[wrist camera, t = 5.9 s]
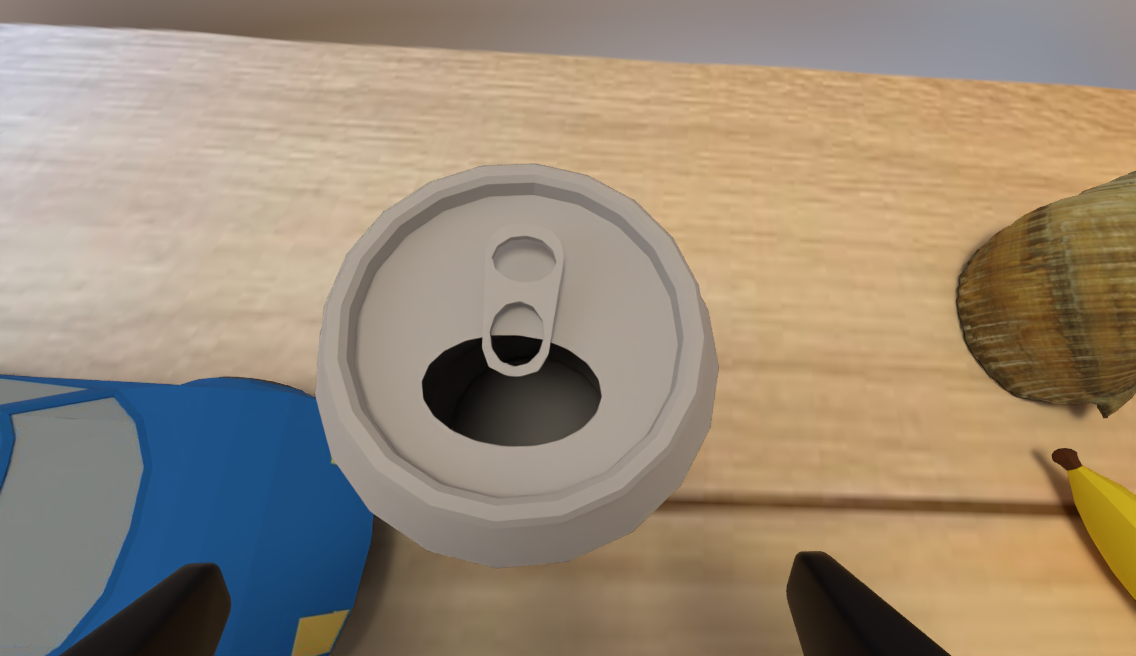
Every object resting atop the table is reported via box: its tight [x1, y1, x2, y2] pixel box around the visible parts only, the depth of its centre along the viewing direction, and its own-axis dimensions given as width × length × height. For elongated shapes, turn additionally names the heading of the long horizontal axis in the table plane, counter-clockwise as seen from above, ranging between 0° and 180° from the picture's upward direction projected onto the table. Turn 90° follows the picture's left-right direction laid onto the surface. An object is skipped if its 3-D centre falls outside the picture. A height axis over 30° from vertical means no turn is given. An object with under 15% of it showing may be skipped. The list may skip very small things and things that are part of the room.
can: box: [315, 164, 719, 568], centre depth 14 cm, size 8×8×12 cm
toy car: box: [0, 374, 373, 656], centre depth 15 cm, size 9×20×5 cm, turn 87°
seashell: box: [957, 171, 1136, 418], centre depth 20 cm, size 10×7×8 cm
